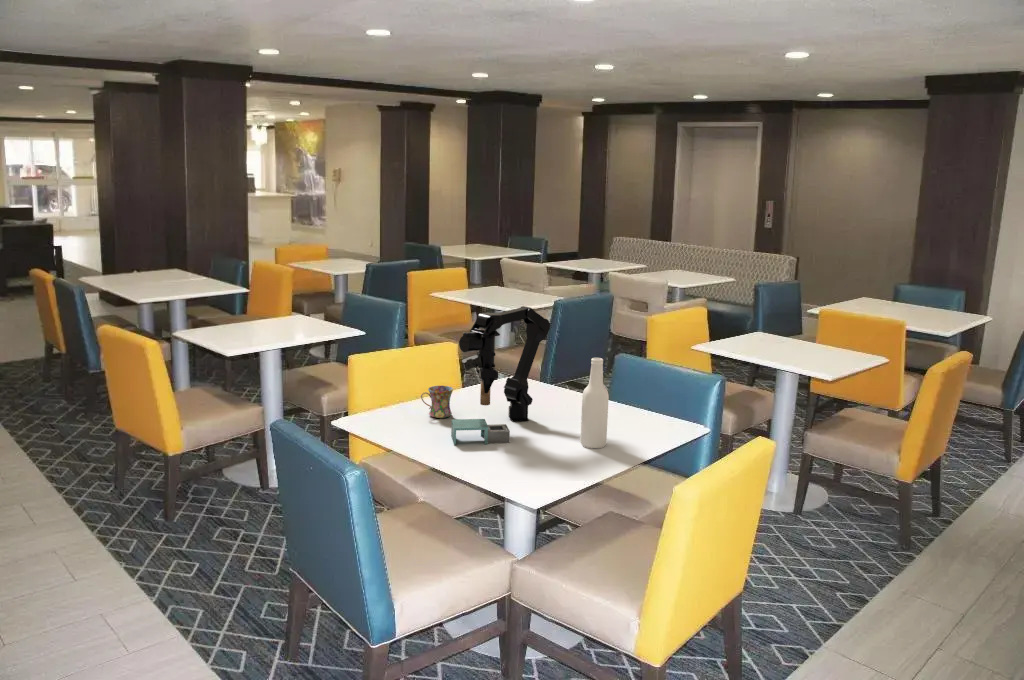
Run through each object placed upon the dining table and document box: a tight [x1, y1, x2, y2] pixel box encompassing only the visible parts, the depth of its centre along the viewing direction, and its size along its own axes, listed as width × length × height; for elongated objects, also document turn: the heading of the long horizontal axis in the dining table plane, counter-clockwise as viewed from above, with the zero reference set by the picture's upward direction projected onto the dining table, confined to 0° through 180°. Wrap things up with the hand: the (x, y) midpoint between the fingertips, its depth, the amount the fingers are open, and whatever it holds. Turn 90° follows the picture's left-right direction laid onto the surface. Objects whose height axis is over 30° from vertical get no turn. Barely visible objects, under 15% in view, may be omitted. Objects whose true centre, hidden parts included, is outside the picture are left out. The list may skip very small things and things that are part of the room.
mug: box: [420, 385, 454, 419], centre depth 309 cm, size 12×9×11 cm
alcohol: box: [579, 357, 610, 449], centre depth 279 cm, size 9×9×30 cm
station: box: [450, 418, 511, 446], centre depth 284 cm, size 19×10×6 cm, turn 100°
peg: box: [479, 381, 491, 406], centre depth 297 cm, size 4×4×8 cm
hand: (485, 391), depth 297 cm, fingers closed on peg, 3 cm apart
